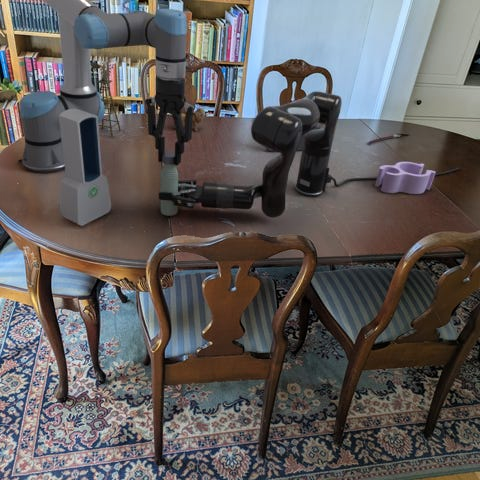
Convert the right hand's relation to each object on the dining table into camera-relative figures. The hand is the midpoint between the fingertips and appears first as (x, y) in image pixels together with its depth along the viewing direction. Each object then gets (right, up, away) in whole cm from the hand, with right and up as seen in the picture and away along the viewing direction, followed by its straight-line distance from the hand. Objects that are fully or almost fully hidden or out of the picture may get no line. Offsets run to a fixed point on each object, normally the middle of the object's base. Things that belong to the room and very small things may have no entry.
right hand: (160, 191), depth 136 cm
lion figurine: (+1, +33, +64) cm, 72 cm away
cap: (+4, +10, -6) cm, 12 cm away
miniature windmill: (-31, +29, +52) cm, 67 cm away
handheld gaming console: (+44, +23, +55) cm, 74 cm away
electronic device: (-21, -7, -2) cm, 22 cm away
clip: (+82, +5, +34) cm, 89 cm away
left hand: (+3, +8, -5) cm, 10 cm away
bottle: (+2, -6, +4) cm, 7 cm away
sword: (+92, +32, +77) cm, 124 cm away
